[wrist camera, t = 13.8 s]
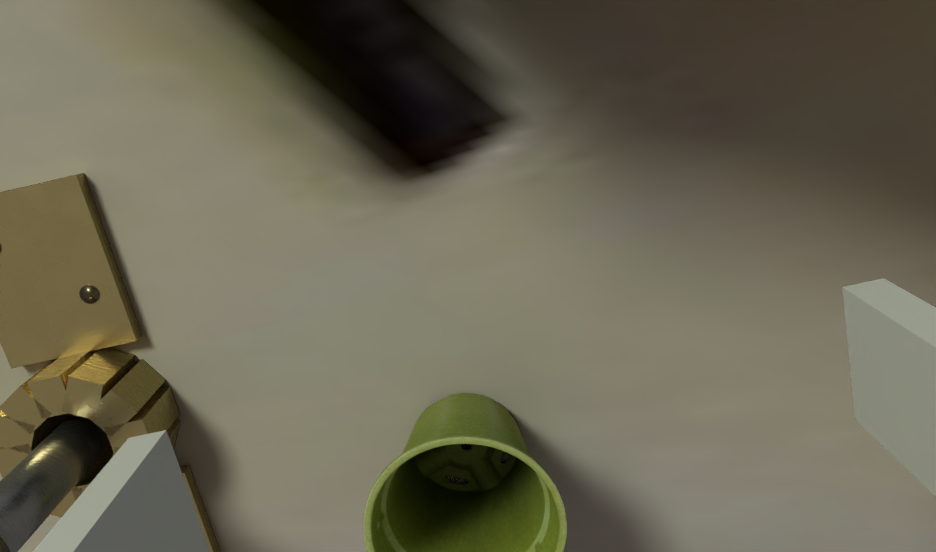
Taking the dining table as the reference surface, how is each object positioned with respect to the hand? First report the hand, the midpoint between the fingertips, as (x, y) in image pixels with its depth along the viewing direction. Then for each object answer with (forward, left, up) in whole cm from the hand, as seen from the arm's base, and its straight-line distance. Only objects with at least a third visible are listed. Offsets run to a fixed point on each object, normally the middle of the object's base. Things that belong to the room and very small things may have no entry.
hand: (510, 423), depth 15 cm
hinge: (+8, -23, -27) cm, 36 cm away
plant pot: (+14, -4, -27) cm, 31 cm away
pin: (+8, -23, -27) cm, 36 cm away
